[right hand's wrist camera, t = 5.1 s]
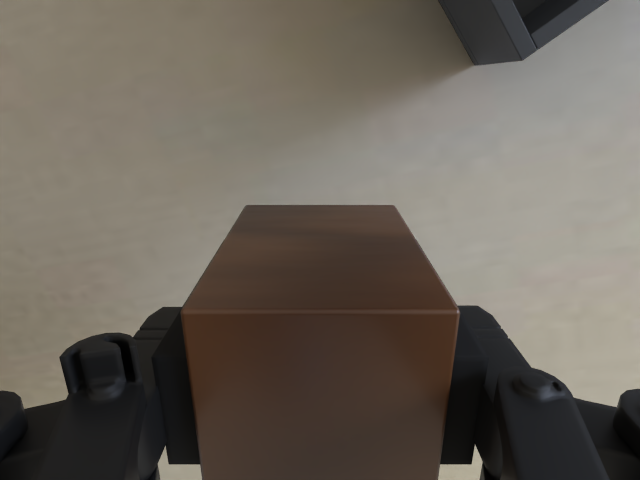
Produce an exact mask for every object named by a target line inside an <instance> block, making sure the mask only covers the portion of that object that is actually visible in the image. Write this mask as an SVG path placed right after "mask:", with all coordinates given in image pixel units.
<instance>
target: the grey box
mask: <svg viewBox="0 0 640 480" xmlns="http://www.w3.org/2000/svg"><path fill="white" fill-rule="evenodd" d="M607 1H608V0H439V2H440V4H441V6H442V7H443V9H444V11H445V13H446V15H447V16H448V18H449V20H450V22H451V24H452V25H453V27H454V29H455V31H456V33H457V34H458V36H459V38H460V40H461V42H462V43H463V45H464V47H465V49H466V51H467V52H468V54H469V56H470V58H471V60H472V61H473V63H474V65H475V66H476V65H486V64H495V63H504V62H513V61H522V60H524V59H525V58H527V57H528V56H530V55H531V54H532V53H534V52H535V51H536V50H537V49H540V48H541V47H542V46H544V45H545V44H547V43H548V42H550V41H551V40H552V39H554V38H555V37H557V36H558V35H560V34H561V33H563V32H564V31H565V30H567V29H568V28H570V27H571V26H573V25H574V24H575V23H577V22H578V21H580V20H581V19H583V18H584V17H585V16H587V15H588V14H590V13H591V12H593V11H594V10H595V9H597V8H598V7H600V6H601V5H603V4H604V3H605V2H607Z"/></svg>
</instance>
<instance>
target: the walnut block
mask: <svg viewBox="0 0 640 480" xmlns="http://www.w3.org/2000/svg"><path fill="white" fill-rule="evenodd" d="M459 317H460V311H459V308H458V307H457V305H456V304H455V302H454V300H453V299H452V297H451V296H450V294H449V292H448V291H447V289H446V287H445V286H444V284H443V283H442V281H441V279H440V278H439V276H438V275H437V273H436V271H435V270H434V268H433V267H432V265H431V263H430V262H429V260H428V258H427V257H426V255H425V254H424V252H423V250H422V249H421V247H420V246H419V244H418V242H417V241H416V239H415V238H414V236H413V234H412V233H411V231H410V229H409V228H408V226H407V225H406V223H405V221H404V220H403V218H402V217H401V215H400V213H399V212H398V210H397V209H396V207H395V206H394V205H246V206H245V207H244V209H243V211H242V212H241V214H240V215H239V217H238V219H237V220H236V222H235V224H234V225H233V227H232V228H231V230H230V232H229V233H228V235H227V236H226V238H225V240H224V241H223V243H222V245H221V246H220V248H219V249H218V251H217V253H216V254H215V256H214V258H213V259H212V261H211V262H210V264H209V266H208V267H207V269H206V270H205V272H204V274H203V275H202V277H201V279H200V280H199V282H198V283H197V285H196V287H195V288H194V290H193V292H192V293H191V295H190V296H189V298H188V300H187V301H186V303H185V304H184V306H183V308H182V310H181V319H182V327H183V335H184V342H185V350H186V358H187V365H188V373H189V381H190V389H191V396H192V404H193V412H194V419H195V427H196V435H197V442H198V450H199V458H200V465H201V473H202V480H438V475H439V468H440V460H441V453H442V445H443V438H444V430H445V423H446V415H447V408H448V400H449V392H450V385H451V377H452V370H453V362H454V355H455V347H456V340H457V332H458V325H459Z"/></svg>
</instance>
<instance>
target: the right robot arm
mask: <svg viewBox="0 0 640 480" xmlns="http://www.w3.org/2000/svg"><path fill="white" fill-rule="evenodd" d="M416 241H417V240H416ZM222 243H223V242H222ZM221 245H222V244H221ZM419 246H420V245H419ZM219 248H220V247H219ZM421 249H422V248H421ZM217 251H218V250H217ZM216 253H217V252H216ZM424 254H425V253H424ZM214 256H215V255H214ZM426 257H427V256H426ZM213 258H214V257H213ZM211 261H212V260H211ZM429 262H430V261H429ZM209 264H210V263H209ZM431 265H432V264H431ZM208 266H209V265H208ZM432 267H433V266H432ZM206 269H207V268H206ZM434 270H435V269H434ZM204 272H205V271H204ZM203 274H204V273H203ZM437 275H438V274H437ZM201 277H202V276H201ZM439 278H440V277H439ZM200 279H201V278H200ZM200 279H199V280H200ZM198 282H199V281H198ZM442 283H443V282H442ZM196 285H197V284H196ZM444 286H445V285H444ZM195 287H196V286H195ZM193 290H194V289H193ZM447 291H448V290H447ZM192 292H193V291H192ZM192 292H191V293H192ZM449 294H450V293H449ZM190 295H191V294H190ZM450 296H451V295H450ZM188 298H189V297H188ZM452 299H453V298H452ZM187 300H188V299H187ZM187 300H186V301H187ZM185 303H186V302H185ZM455 304H456V303H455ZM183 306H184V305H183ZM457 307H458V308H459V311H460V317H459V325H458V332H457V340H456V347H455V355H454V362H453V370H452V377H451V385H450V392H449V400H448V408H447V415H446V423H445V430H444V438H443V445H442V453H441V460H440V464H472V458H473V452H474V446H475V445H476V447H477V449H478V452H479V454H480V456H481V459H482V461H483V464H482V469H481V475H480V480H640V389H634V390H627V391H626V392H624V393H623V394H622V395H621V396H620V399H619V402H618V405H617V407H612V406H608V405H603V404H598V403H594V402H589V401H584V400H581V399H577V398H573V396H572V394H571V392H570V391H569V389H568V388H567V387H566V385H565V384H564V383H562V382H561V381H560V380H558V379H557V378H556V377H554V376H552V375H550V374H548V373H546V372H544V371H541V370H538V369H534V368H531V367H530V365H529V364H528V363H527V361H526V360H525V359H524V357H523V356H522V355H521V353H520V352H519V351H518V349H517V348H516V347H515V345H514V344H513V342H512V341H511V340H510V339H508V336H507V334H506V333H505V332H504V330H503V329H501V326H500V325H499V324H498V322H497V321H496V320H495V318H494V317H493V316H492V315H491V314H489V313H488V312H486V311H485V310H483V309H482V308H480V307H479V306H457ZM182 308H183V307H162V308H161V309H159V310H158V311H156V312H155V313H153V314H152V315H150V316H149V317H148V318H147V319H146V321H145V322H144V323H143V325H142V326H141V327H140V330H138V331H137V333H136V334H135V335H134V337H131V336H130V335H127V334H123V333H104V334H100V335H95V336H91V337H88V338H86V339H83V340H81V341H78V342H77V343H75V344H74V345H72V346H71V347H69V348H67V349H66V350H65V351H64V353H63V354H62V355H61V356H60V357H59V358H60V362H61V366H62V369H63V373H64V377H65V381H66V385H67V389H68V393H69V394H68V397H67V399H66V400H63V401H59V402H55V403H51V404H46V405H41V406H36V407H32V408H27V409H24V407H23V404H22V401H21V397H19V396H18V395H17V394H16V393H14V392H9V391H0V480H160V476H159V469H158V461H159V459H160V457H161V454H162V452H163V450H164V447H165V445H166V450H167V456H168V462H169V464H200V458H199V450H198V442H197V435H196V427H195V419H194V412H193V404H192V396H191V389H190V381H189V373H188V365H187V358H186V350H185V342H184V335H183V327H182V319H181V310H182Z"/></svg>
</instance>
